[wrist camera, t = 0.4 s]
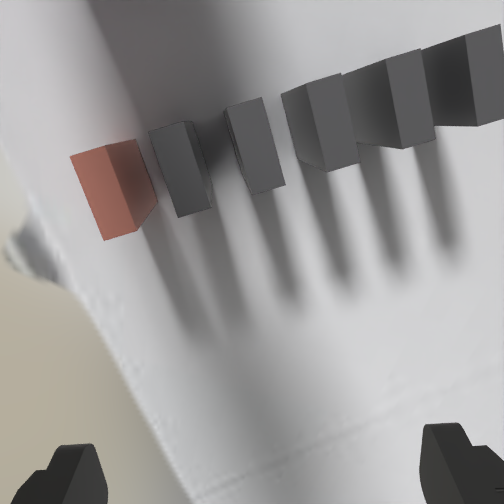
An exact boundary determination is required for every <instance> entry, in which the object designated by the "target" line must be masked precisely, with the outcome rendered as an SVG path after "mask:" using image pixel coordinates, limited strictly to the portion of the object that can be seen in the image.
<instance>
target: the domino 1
mask: <svg viewBox="0 0 504 504" xmlns="http://www.w3.org/2000/svg"><path fill="white" fill-rule="evenodd" d="M70 159H71V161H72V164H73V166H74V169H75V171H76V173H77V176H78V178H79V181H80V183H81V186H82V188H83V191H84V193H85V196H86V198H87V201H88V203H89V206H90V208H91V210H92V213H93V215H94V218H95V220H96V223H97V225H98V228H99V230H100V233H101V235H102V238H103V240H104V241H105V240H109V239H112V238H115V237H118V236H122V235H125V234H128V233H131V232H135V231H137V230H138V229H139V227H140V226H141V224H142V223H143V222H144V220H145V219H146V217H147V216H148V215H149V213H150V212H151V210H152V209H153V208H154V206H155V205H156V203H157V202H158V201H157V198H156V195H155V193H154V190H153V187H152V184H151V181H150V179H149V176H148V173H147V170H146V168H145V165H144V162H143V159H142V156H141V154H140V151H139V148H138V145H137V143H136V140H135V139H133V140H128V141H124V142H119V143H114V144H110V145H105V146H102V147H99V148H95V149H92V150H89V151H86V152H82V153H79V154H76V155H73V156H70Z"/></svg>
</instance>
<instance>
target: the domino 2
mask: <svg viewBox="0 0 504 504" xmlns="http://www.w3.org/2000/svg"><path fill="white" fill-rule="evenodd" d="M148 133H149V136H150V139H151V142H152V145H153V148H154V150H155V153H156V156H157V159H158V162H159V165H160V168H161V170H162V173H163V176H164V179H165V182H166V185H167V188H168V191H169V193H170V196H171V199H172V202H173V205H174V208H175V211H176V213H177V216H178V218H180V217H183V216H186V215H189V214H193V213H196V212H199V211H202V210H206V209H209V208H211V202H212V182H211V179H210V176H209V173H208V170H207V167H206V163H205V160H204V157H203V154H202V151H201V148H200V145H199V142H198V138H197V135H196V132H195V129H194V126H193V123H192V121H182V122H179V123H176V124H172V125H169V126H166V127H162V128H159V129H156V130H153V131H149V132H148Z"/></svg>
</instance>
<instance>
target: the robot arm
mask: <svg viewBox="0 0 504 504" xmlns="http://www.w3.org/2000/svg"><path fill="white" fill-rule="evenodd" d="M419 473H420V482H421V487H422V491H423V494H424V497H425V500H426V503H427V504H504V461H503V460H502V459H501V458H500V457H499V456H498V455H497V454H496V453H494V452H493V451H492V450H491V449H490V448H489V447H488V446H487V445H484V446H472V444H471V443H470V441H469V439H468V437H467V435H466V433H465V431H464V429H463V428H462V426H461V425H460V424H459V423H440V424H426V425H425V426H424V428H423V437H422V447H421V456H420V466H419ZM107 502H108V488H107V483H106V480H105V477H104V474H103V471H102V468H101V464H100V462H99V458H98V455H97V452H96V449H95V447H94V445H93V444H75V445H61V446H59V447H58V448H57V449H56V451H55V453H54V455H53V457H52V459H51V461H50V463H49V466H48V467H47V469H46V470H36V471H35V472H34V473H33V474H32V475H31V476H30V477H29V479H28V480H27V481H26V482H25V483H24V484H23V485H22V486H21V487H20V488H19V489H18V491H17V493H16V495H15V496H14V498H13V500H12V502H11V504H107Z"/></svg>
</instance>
